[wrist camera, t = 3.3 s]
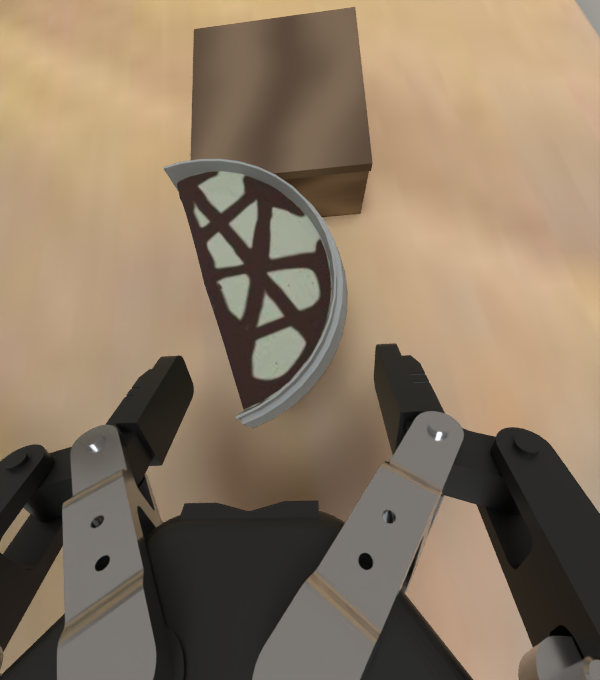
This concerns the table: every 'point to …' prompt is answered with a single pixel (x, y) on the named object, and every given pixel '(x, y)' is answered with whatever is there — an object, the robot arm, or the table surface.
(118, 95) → the table surface
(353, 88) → the walnut block
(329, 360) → the food container
